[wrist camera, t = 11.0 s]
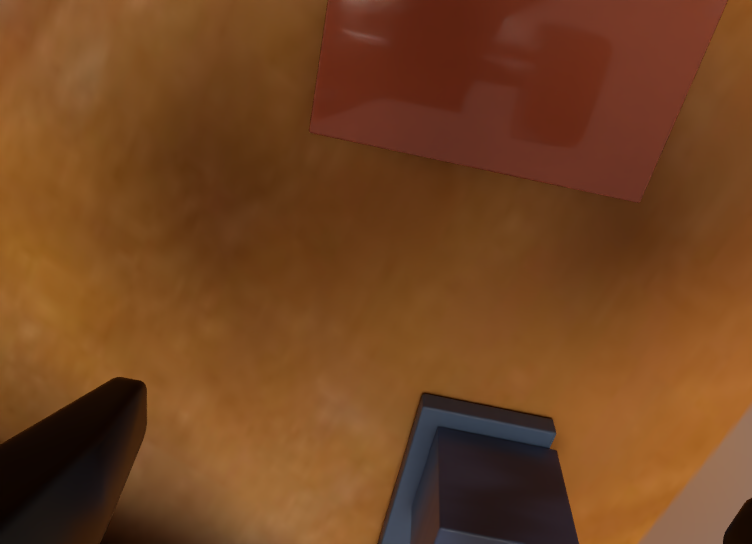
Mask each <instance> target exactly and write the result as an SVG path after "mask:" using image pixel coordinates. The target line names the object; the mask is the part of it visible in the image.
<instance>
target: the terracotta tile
mask: <svg viewBox="0 0 752 544" xmlns="http://www.w3.org/2000/svg"><path fill="white" fill-rule="evenodd" d="M727 1H728V0H328V3H327V9H326V16H325V23H324V30H323V37H322V44H321V51H320V58H319V64H318V71H317V78H316V85H315V92H314V99H313V106H312V113H311V119H310V126H309V132H310V133H313V134H318V135H323V136H327V137H332V138H337V139H341V140H346V141H351V142H355V143H360V144H365V145H369V146H374V147H379V148H384V149H388V150H393V151H398V152H402V153H407V154H412V155H416V156H421V157H426V158H430V159H435V160H440V161H445V162H449V163H454V164H459V165H463V166H468V167H473V168H477V169H482V170H487V171H491V172H496V173H501V174H506V175H510V176H515V177H520V178H524V179H529V180H534V181H538V182H543V183H548V184H552V185H557V186H562V187H566V188H571V189H576V190H581V191H585V192H590V193H595V194H599V195H604V196H609V197H613V198H618V199H623V200H627V201H632V202H637V203H640V201H641V199H642V197H643V194H644V192H645V190H646V188H647V185H648V183H649V181H650V178H651V176H652V174H653V172H654V169H655V167H656V165H657V162H658V160H659V158H660V155H661V153H662V151H663V149H664V146H665V144H666V142H667V139H668V137H669V135H670V132H671V130H672V128H673V126H674V123H675V121H676V119H677V116H678V114H679V112H680V109H681V107H682V105H683V103H684V100H685V98H686V96H687V93H688V91H689V89H690V86H691V84H692V82H693V80H694V77H695V75H696V73H697V70H698V68H699V66H700V64H701V61H702V59H703V57H704V54H705V52H706V50H707V47H708V45H709V43H710V41H711V38H712V36H713V34H714V31H715V29H716V27H717V24H718V22H719V20H720V18H721V15H722V13H723V11H724V8H725V6H726V4H727Z"/></svg>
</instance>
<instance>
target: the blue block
mask: <svg viewBox="0 0 752 544" xmlns="http://www.w3.org/2000/svg"><path fill="white" fill-rule="evenodd" d="M410 544H579V542H578V537H577V533H576V529H575V525H574V521H573V517H572V512H571V508H570V504H569V500H568V496H567V492H566V487H565V483H564V479H563V475H562V471H561V467H560V462H559V458H558V454H557V451H556V450H553V449H548V448H543V447H538V446H533V445H528V444H523V443H518V442H513V441H508V440H503V439H498V438H493V437H488V436H483V435H478V434H473V433H468V432H463V431H458V430H453V429H448V428H443V427H438V429H437V431H436V435H435V438H434V441H433V444H432V447H431V450H430V453H429V456H428V459H427V462H426V465H425V468H424V471H423V474H422V478H421V481H420V484H419V487H418V490H417V493H416V496H415V499H414V502H413V505H412V508H411V541H410Z"/></svg>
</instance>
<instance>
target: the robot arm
mask: <svg viewBox="0 0 752 544" xmlns="http://www.w3.org/2000/svg"><path fill="white" fill-rule="evenodd" d="M146 426H147V388H146V385H145V383H144V382H142V381H140V380H134V379H129V378H124V377H116V378H113V379H111V380H110V381H108V382H106V383H105V384H103V385H101V386H99V387H98V388H96V389H94V390H93V391H91V392H89V393H87V394H86V395H84V396H82V397H81V398H79V399H77V400H76V401H74V402H72V403H70V404H69V405H67V406H65V407H64V408H62V409H60V410H58V411H57V412H55V413H53V414H52V415H50V416H48V417H47V418H45V419H43V420H41V421H40V422H38V423H36V424H35V425H33V426H31V427H29V428H28V429H26V430H24V431H23V432H21V433H19V434H18V435H16V436H14V437H12V438H11V439H9V440H7V441H6V442H4V443H2V444H0V544H100V542H101V540H102V538H103V536H104V534H105V531H106V529H107V527H108V524H109V522H110V520H111V517H112V515H113V512H114V510H115V508H116V505H117V503H118V500H119V498H120V495H121V493H122V490H123V488H124V485H125V483H126V480H127V478H128V476H129V473H130V471H131V468H132V466H133V463H134V461H135V458H136V456H137V453H138V451H139V448H140V446H141V444H142V441H143V438H144V435H145V431H146ZM723 544H752V498H751V499H749V500H747V501H746V502H745V503H744V505H743V506H742V508H741V509H740V511H739V512H738V514H737V515H736V516H735V518H734V519H733V521H732V522H731V524H730V525H729V527H728V528H727V530H726V532H725V535H724V539H723Z"/></svg>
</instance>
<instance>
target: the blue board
mask: <svg viewBox="0 0 752 544" xmlns="http://www.w3.org/2000/svg"><path fill="white" fill-rule="evenodd" d="M438 427H443V428H448V429H453V430H458V431H463V432H468V433H473V434H478V435H483V436H488V437H493V438H498V439H503V440H508V441H513V442H518V443H523V444H528V445H533V446H538V447H543V448H548V449H550V446H551V444H552V442H553V440H554V438H555V435H556V430H555V426H554V422H553V420H552V419H548V418H543V417H538V416H533V415H528V414H523V413H518V412H513V411H508V410H503V409H499V408H494V407H489V406H484V405H479V404H474V403H469V402H464V401H459V400H454V399H449V398H444V397H439V396H434V395H429V394H423V395H422V398H421V401H420V404H419V408H418V411H417V415H416V418H415V421H414V425H413V428H412V431H411V435H410V438H409V441H408V445H407V448H406V451H405V455H404V458H403V461H402V465H401V468H400V471H399V475H398V478H397V481H396V485H395V488H394V491H393V495H392V498H391V501H390V505H389V508H388V511H387V515H386V518H385V521H384V525H383V528H382V531H381V535H380V538H379V541H378V544H410V541H411V508H412V505H413V502H414V499H415V496H416V493H417V490H418V487H419V484H420V481H421V478H422V474H423V471H424V468H425V465H426V462H427V459H428V456H429V453H430V450H431V447H432V444H433V441H434V438H435V435H436V431H437V429H438Z"/></svg>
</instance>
